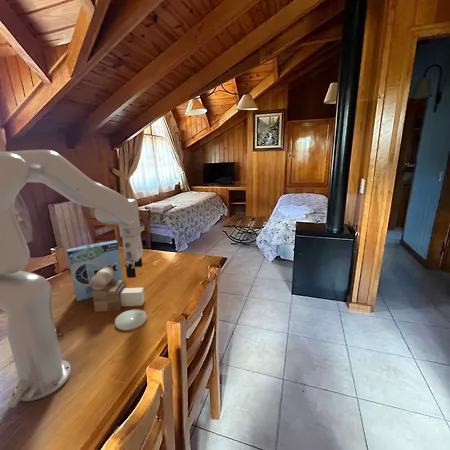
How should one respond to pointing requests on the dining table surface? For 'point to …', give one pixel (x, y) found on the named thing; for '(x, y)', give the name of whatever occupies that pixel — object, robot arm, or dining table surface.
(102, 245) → the gum box
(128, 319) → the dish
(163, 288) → the dining table surface
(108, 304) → the dispenser
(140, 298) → the white box
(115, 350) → the dining table surface
